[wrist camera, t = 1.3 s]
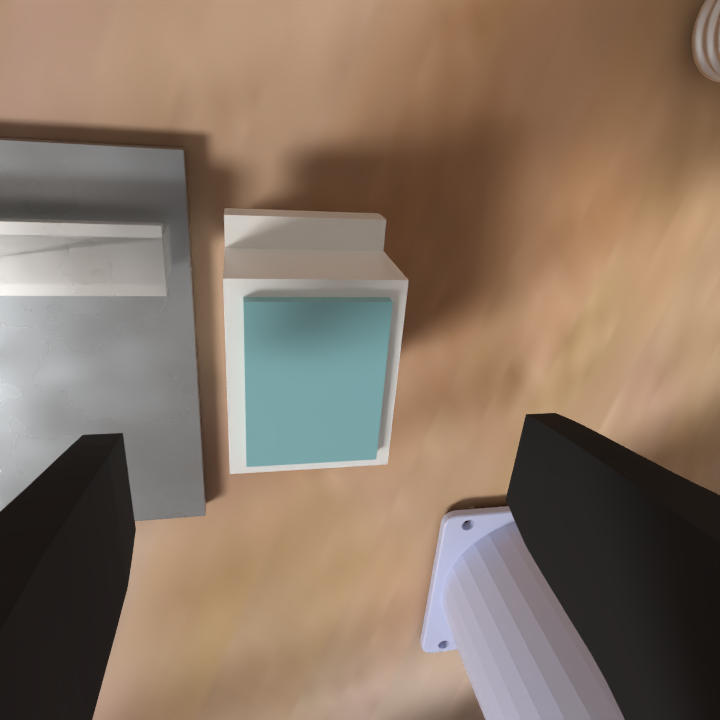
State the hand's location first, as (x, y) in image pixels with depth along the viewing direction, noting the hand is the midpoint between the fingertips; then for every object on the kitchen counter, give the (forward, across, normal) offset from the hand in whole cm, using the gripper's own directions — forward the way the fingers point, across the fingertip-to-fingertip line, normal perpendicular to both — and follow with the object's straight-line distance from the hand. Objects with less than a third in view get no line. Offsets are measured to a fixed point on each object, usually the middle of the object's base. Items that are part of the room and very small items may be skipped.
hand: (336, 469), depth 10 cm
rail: (+8, +7, -2) cm, 11 cm away
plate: (+8, +8, +2) cm, 11 cm away
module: (+8, 0, 0) cm, 8 cm away
